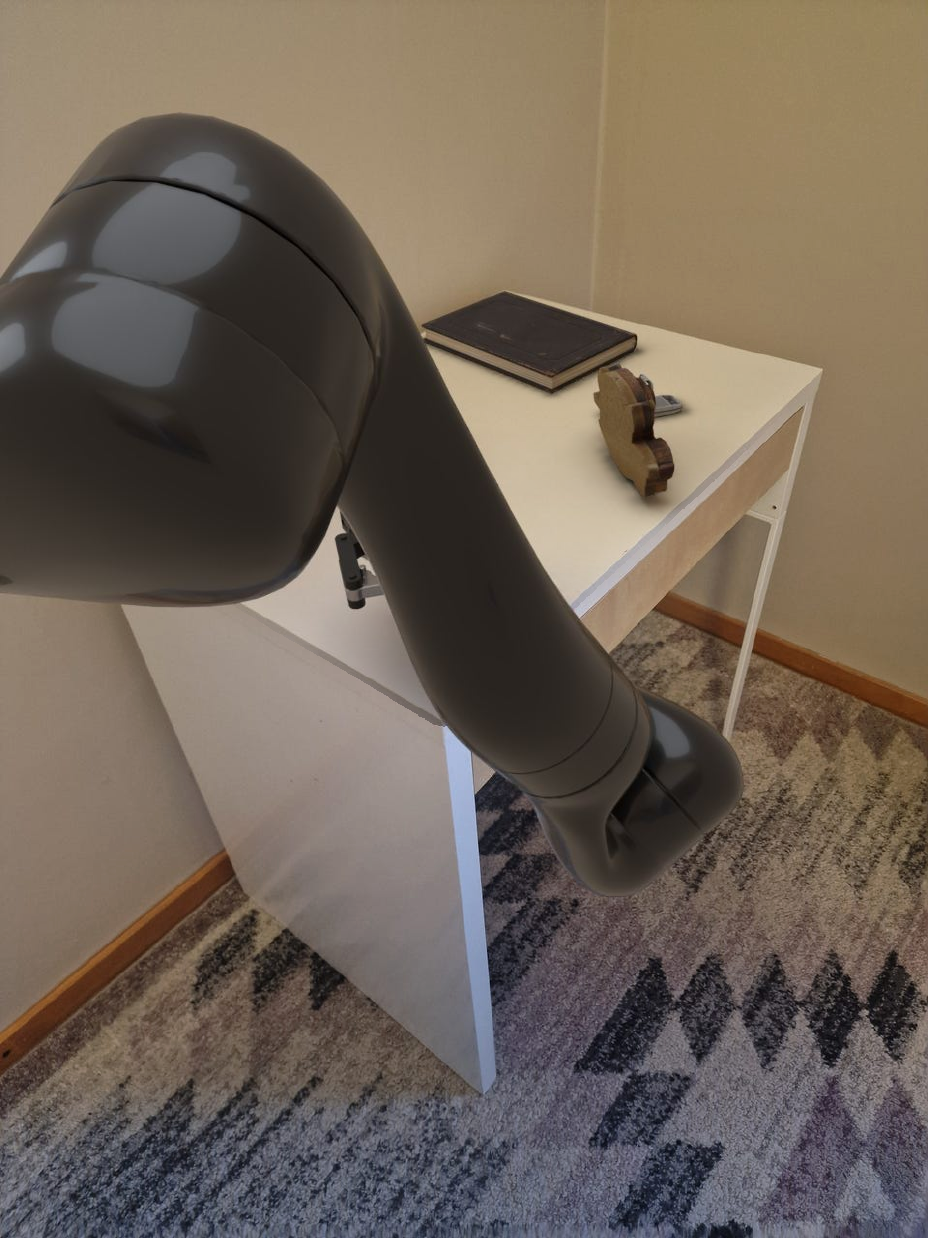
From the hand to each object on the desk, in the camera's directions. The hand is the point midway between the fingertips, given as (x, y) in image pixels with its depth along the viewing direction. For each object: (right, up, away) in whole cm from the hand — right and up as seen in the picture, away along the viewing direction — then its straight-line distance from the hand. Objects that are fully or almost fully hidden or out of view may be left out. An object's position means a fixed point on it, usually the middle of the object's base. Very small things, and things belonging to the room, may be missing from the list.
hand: (380, 500), depth 67 cm
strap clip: (+27, +14, +28) cm, 41 cm away
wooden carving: (+23, +6, +20) cm, 31 cm away
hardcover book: (+15, +26, +44) cm, 53 cm away
